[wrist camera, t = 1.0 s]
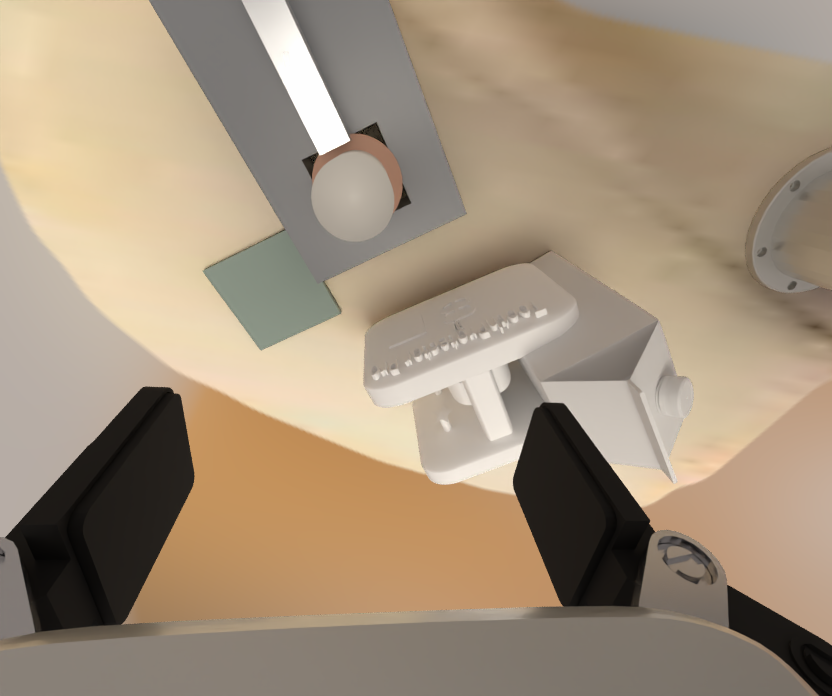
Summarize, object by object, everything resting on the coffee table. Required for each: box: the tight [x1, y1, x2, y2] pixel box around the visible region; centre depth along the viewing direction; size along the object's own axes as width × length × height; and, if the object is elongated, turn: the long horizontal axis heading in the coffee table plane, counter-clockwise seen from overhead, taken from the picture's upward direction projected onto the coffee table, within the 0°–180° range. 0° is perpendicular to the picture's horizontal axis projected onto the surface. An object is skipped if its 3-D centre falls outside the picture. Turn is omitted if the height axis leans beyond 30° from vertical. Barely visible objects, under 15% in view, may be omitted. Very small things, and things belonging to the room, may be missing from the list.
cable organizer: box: [363, 263, 579, 484], centre depth 32 cm, size 15×11×12 cm
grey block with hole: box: [149, 0, 467, 284], centre depth 27 cm, size 12×18×4 cm, turn 24°
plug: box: [311, 134, 403, 242], centre depth 25 cm, size 6×6×12 cm
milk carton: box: [517, 251, 694, 484], centre depth 29 cm, size 7×7×19 cm
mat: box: [203, 230, 341, 350], centre depth 34 cm, size 8×8×1 cm
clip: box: [242, 0, 352, 155], centre depth 22 cm, size 2×9×5 cm, turn 24°
